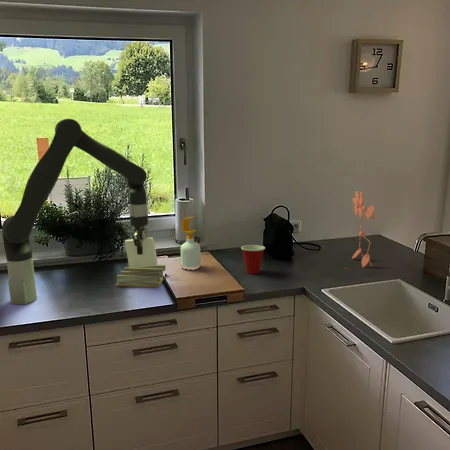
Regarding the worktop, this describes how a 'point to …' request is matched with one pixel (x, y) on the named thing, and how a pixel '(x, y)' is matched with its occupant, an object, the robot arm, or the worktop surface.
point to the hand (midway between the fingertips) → (140, 253)
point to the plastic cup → (253, 257)
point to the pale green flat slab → (146, 258)
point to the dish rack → (141, 276)
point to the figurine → (368, 213)
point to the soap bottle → (190, 247)
